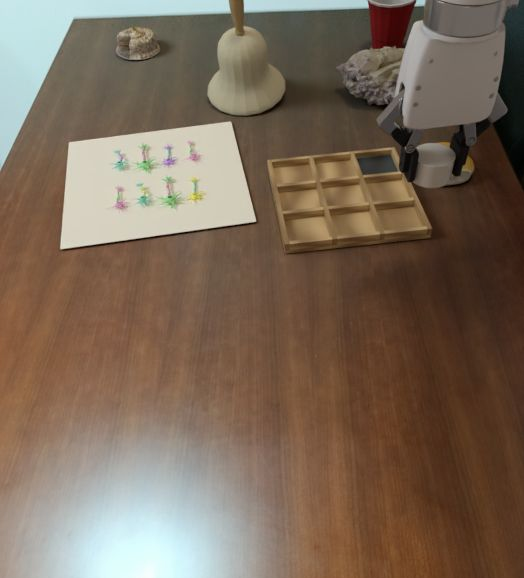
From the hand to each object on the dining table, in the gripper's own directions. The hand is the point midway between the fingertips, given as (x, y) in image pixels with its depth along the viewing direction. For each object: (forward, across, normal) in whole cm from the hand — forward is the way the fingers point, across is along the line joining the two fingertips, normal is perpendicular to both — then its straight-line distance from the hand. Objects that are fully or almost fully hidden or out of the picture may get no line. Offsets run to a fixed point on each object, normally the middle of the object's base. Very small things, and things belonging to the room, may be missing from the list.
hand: (430, 171), depth 71 cm
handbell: (+16, +17, -52) cm, 57 cm away
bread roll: (+16, -12, -21) cm, 29 cm away
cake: (+15, +39, -78) cm, 88 cm away
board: (+15, +6, -16) cm, 23 cm away
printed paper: (+15, +36, -28) cm, 48 cm away
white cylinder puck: (+1, 0, 0) cm, 1 cm away
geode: (+16, -9, -47) cm, 50 cm away
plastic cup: (+16, -14, -65) cm, 68 cm away
